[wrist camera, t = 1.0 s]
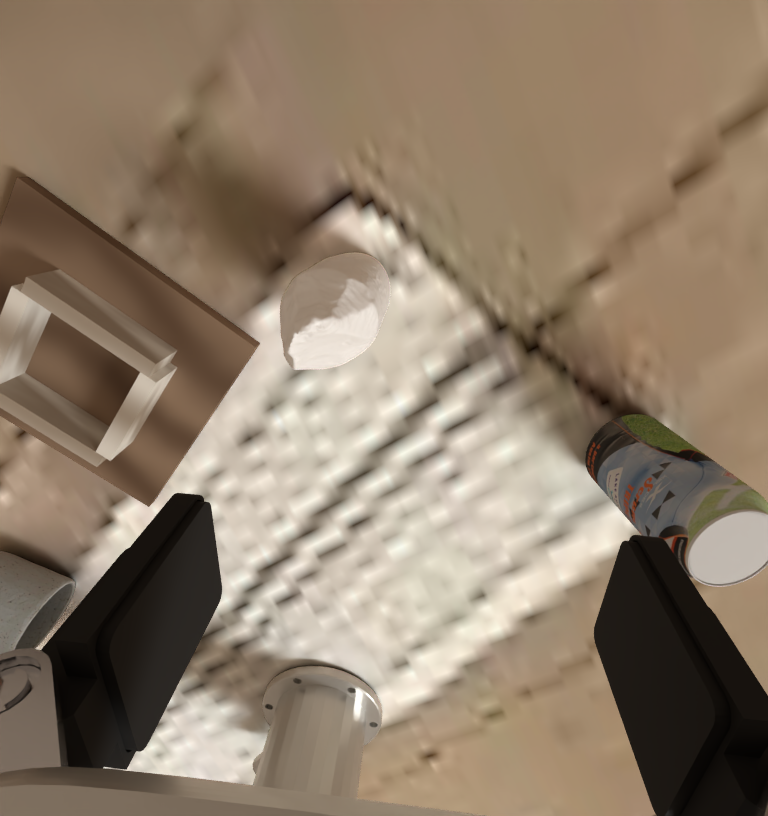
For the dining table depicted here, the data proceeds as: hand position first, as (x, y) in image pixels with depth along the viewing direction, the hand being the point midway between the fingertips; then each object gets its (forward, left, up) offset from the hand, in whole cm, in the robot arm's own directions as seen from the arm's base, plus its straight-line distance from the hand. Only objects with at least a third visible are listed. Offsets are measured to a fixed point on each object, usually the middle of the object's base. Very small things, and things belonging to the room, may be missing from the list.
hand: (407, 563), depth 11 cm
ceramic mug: (-44, +13, -25) cm, 52 cm away
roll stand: (-18, +17, -24) cm, 35 cm away
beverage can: (+2, -18, -25) cm, 31 cm away
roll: (-2, +5, -25) cm, 25 cm away
